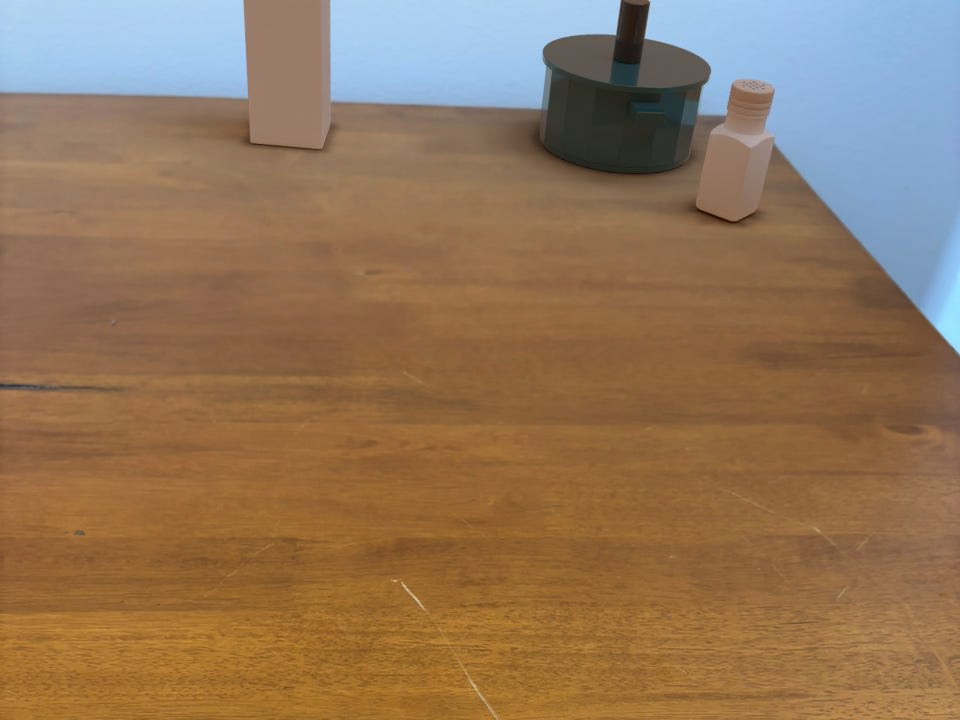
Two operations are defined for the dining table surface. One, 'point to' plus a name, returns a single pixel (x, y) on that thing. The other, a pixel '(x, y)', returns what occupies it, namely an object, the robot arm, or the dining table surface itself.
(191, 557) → the dining table surface
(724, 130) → the pepper shaker
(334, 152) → the dining table surface
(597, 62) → the lid
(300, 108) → the milk
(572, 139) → the pot
